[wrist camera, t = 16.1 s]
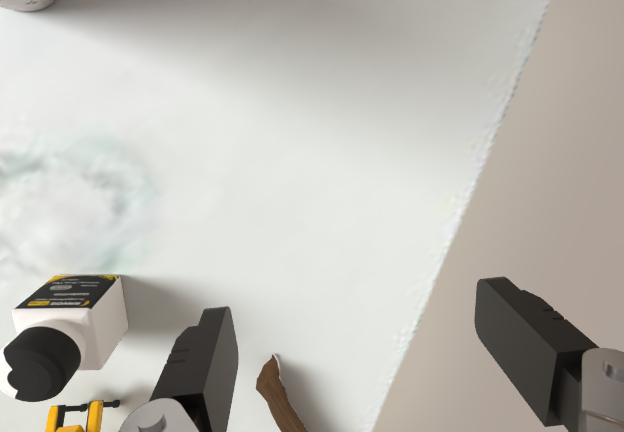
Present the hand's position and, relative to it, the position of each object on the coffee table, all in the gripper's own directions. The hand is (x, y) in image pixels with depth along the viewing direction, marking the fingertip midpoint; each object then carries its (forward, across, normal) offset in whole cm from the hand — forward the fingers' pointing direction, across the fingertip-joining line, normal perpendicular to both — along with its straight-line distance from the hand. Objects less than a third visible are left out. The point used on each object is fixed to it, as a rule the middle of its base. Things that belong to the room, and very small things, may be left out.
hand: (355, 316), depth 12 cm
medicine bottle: (+28, +26, +14) cm, 41 cm away
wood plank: (+28, +5, +32) cm, 43 cm away
